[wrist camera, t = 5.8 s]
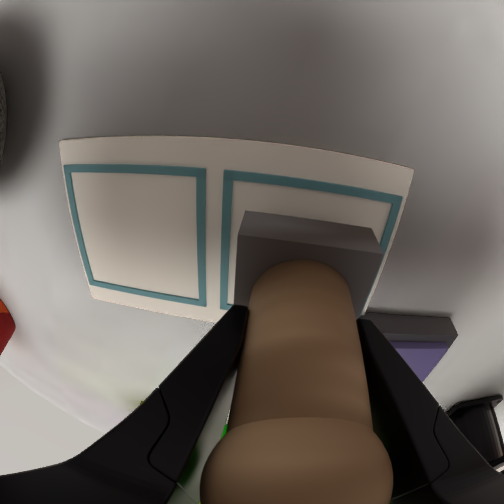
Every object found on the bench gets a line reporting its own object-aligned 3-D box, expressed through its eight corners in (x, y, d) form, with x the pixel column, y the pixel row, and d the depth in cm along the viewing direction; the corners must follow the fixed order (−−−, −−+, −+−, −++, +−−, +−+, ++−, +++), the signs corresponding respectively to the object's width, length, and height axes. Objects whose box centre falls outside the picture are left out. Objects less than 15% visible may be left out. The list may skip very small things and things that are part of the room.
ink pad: (450, 317, 12) (460, 341, 10) (395, 393, 16) (399, 413, 14) (319, 308, 12) (322, 336, 11) (291, 390, 16) (290, 413, 15)
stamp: (371, 228, 9) (457, 545, 1) (340, 318, 11) (353, 555, 4) (245, 210, 9) (145, 561, 2) (238, 306, 11) (186, 549, 4)
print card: (412, 168, 8) (415, 170, 8) (353, 334, 13) (353, 339, 13) (61, 140, 9) (57, 141, 9) (94, 295, 13) (91, 299, 13)
